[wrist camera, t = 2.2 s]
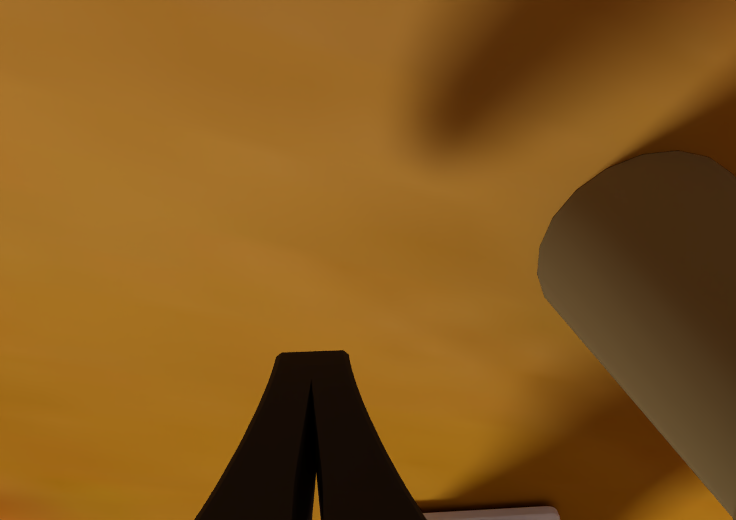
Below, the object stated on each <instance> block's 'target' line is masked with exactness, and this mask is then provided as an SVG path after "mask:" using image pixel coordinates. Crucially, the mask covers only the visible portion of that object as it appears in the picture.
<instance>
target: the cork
mask: <svg viewBox="0 0 736 520" xmlns="http://www.w3.org/2000/svg"><path fill="white" fill-rule="evenodd" d="M537 275H538V278H539V281H540V284H541V288H542V291H543V294H544V297H545V298H546V299H547V301H548V302H549V303H550V304H551V305H552V306H553V308H554V309H555V310H556V311H557V312H558V313H559V315H560V316H561V317H562V318H563V319H564V320H565V322H566V323H567V324H568V325H569V326H570V328H571V329H572V330H573V331H574V332H575V333H576V335H577V336H578V337H579V338H580V339H581V340H582V342H583V343H584V344H585V345H586V346H587V347H588V349H589V350H590V351H591V352H592V353H593V354H594V356H595V357H596V358H597V359H598V360H599V362H600V363H601V364H602V365H603V366H604V367H605V369H606V370H607V371H608V372H609V373H610V374H611V376H612V377H613V378H614V379H615V380H616V381H617V383H618V384H619V385H620V386H621V387H622V388H623V390H624V391H625V392H626V393H627V394H628V396H629V397H630V398H631V399H632V400H633V401H634V403H635V404H636V405H637V406H638V407H639V408H640V410H641V411H642V412H643V413H644V414H645V415H646V417H647V418H648V419H649V420H650V421H651V422H652V424H653V425H654V426H655V427H656V428H657V430H658V431H659V432H660V433H661V434H662V435H663V437H664V438H665V439H666V440H667V441H668V442H669V444H670V445H671V446H672V447H673V448H674V449H675V451H676V452H677V453H678V454H679V455H680V456H681V458H682V459H683V460H684V461H685V462H686V464H687V465H688V466H689V467H690V468H691V469H692V471H693V472H694V473H695V474H696V475H697V476H698V478H699V479H700V480H701V481H702V482H703V483H704V485H705V486H706V487H707V488H708V489H709V490H710V492H711V493H712V494H713V495H714V496H715V498H716V499H717V500H718V501H719V502H720V503H721V505H722V506H723V507H724V508H725V509H726V510H727V512H728V513H729V514H730V515H731V516H732V517H733V520H736V177H735V176H734V175H733V174H732V173H731V172H729V171H728V170H726V169H725V168H723V167H722V166H721V165H719V164H718V163H716V162H715V161H713V160H712V159H711V158H709V157H705V156H701V155H696V154H691V153H687V152H682V151H670V152H661V153H652V154H643V155H640V156H638V157H635V158H632V159H630V160H627V161H625V162H622V163H620V164H617V165H615V166H612V167H610V168H607V169H606V170H604V171H603V172H601V173H600V174H599V175H597V176H596V177H594V178H593V179H592V180H590V181H589V182H587V183H586V184H585V185H583V186H582V187H580V188H579V189H578V190H576V191H575V192H574V194H573V195H572V196H571V197H570V198H569V199H568V201H567V202H566V203H565V204H564V205H563V207H562V208H561V209H560V210H559V211H558V212H557V214H556V215H555V216H554V217H553V219H552V221H551V223H550V225H549V227H548V230H547V232H546V234H545V236H544V238H543V241H542V243H541V245H540V249H539V260H538V271H537Z"/></svg>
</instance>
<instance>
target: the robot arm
mask: <svg viewBox="0 0 736 520" xmlns="http://www.w3.org/2000/svg"><path fill="white" fill-rule="evenodd" d="M316 474H317V484H318V495H319V505H320V516H321V520H560V516H559V514H558V511H557V510H556V508H554V507H551V506H538V507H521V508H503V509H486V510H468V511H451V512H434V513H422V511H421V510H420V508H419V507H418V505H417V504H416V502H415V501H414V499H413V497H412V496H411V494H410V493H409V491H408V489H407V488H406V486H405V484H404V482H403V481H402V479H401V477H400V476H399V474H398V472H397V470H396V468H395V467H394V465H393V463H392V461H391V459H390V458H389V456H388V454H387V452H386V450H385V448H384V446H383V444H382V442H381V440H380V438H379V436H378V434H377V432H376V430H375V428H374V425H373V423H372V421H371V419H370V417H369V415H368V412H367V410H366V408H365V405H364V403H363V401H362V398H361V395H360V393H359V390H358V387H357V385H356V382H355V379H354V375H353V372H352V368H351V364H350V360H349V354H347V353H346V352H345V351H343V350H339V351H313V352H287V353H281V354H279V355H278V356H277V357H276V359H275V363H274V367H273V370H272V373H271V376H270V379H269V381H268V384H267V386H266V389H265V391H264V394H263V396H262V398H261V401H260V403H259V405H258V408H257V410H256V412H255V414H254V416H253V418H252V420H251V422H250V424H249V426H248V428H247V430H246V432H245V434H244V437H243V439H242V440H241V442H240V444H239V446H238V448H237V450H236V452H235V453H234V455H233V457H232V459H231V460H230V462H229V464H228V466H227V467H226V469H225V471H224V473H223V475H222V476H221V478H220V480H219V482H218V483H217V485H216V487H215V488H214V490H213V491H212V493H211V495H210V496H209V498H208V500H207V501H206V503H205V504H204V506H203V507H202V509H201V510H200V512H199V513H198V515H197V516H196V518H195V519H194V520H312V513H313V502H314V491H315V480H316Z"/></svg>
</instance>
